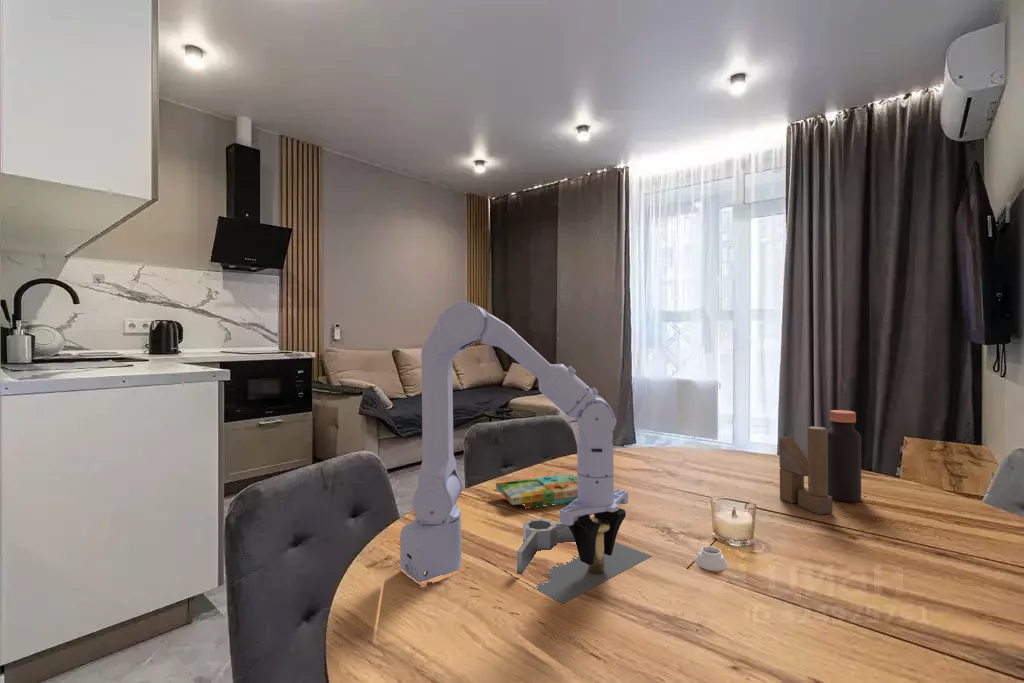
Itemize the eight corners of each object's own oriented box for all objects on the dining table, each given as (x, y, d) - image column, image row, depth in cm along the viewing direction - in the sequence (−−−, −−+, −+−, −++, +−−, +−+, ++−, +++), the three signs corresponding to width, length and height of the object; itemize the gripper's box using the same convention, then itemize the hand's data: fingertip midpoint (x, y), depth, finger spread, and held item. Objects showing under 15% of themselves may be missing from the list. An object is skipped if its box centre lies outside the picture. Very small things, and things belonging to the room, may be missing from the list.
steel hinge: (517, 575, 76) (517, 553, 76) (503, 541, 89) (503, 521, 89) (623, 564, 79) (623, 542, 79) (595, 532, 92) (595, 514, 92)
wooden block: (792, 497, 112) (791, 420, 112) (833, 514, 102) (833, 428, 102) (778, 499, 111) (778, 421, 111) (819, 515, 101) (818, 429, 101)
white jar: (711, 558, 82) (688, 564, 81) (711, 541, 82) (688, 546, 81) (734, 572, 78) (710, 577, 76) (734, 553, 78) (710, 559, 76)
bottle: (868, 503, 108) (868, 413, 108) (837, 503, 108) (837, 414, 108) (848, 493, 115) (847, 409, 114) (819, 493, 115) (818, 409, 114)
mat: (562, 608, 68) (562, 604, 68) (477, 559, 83) (477, 555, 83) (651, 559, 82) (651, 556, 82) (565, 525, 97) (565, 522, 97)
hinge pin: (598, 580, 74) (597, 529, 74) (576, 570, 77) (576, 521, 77) (616, 571, 77) (615, 522, 77) (594, 561, 80) (594, 514, 80)
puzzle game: (594, 484, 109) (510, 494, 103) (595, 505, 109) (510, 516, 103) (573, 471, 120) (495, 479, 114) (573, 490, 120) (496, 499, 114)
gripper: (584, 488, 69) (585, 582, 69) (643, 469, 79) (644, 552, 79) (549, 477, 75) (550, 565, 75) (608, 461, 84) (609, 538, 84)
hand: (596, 557), depth 77 cm, fingers closed on hinge pin, 4 cm apart
